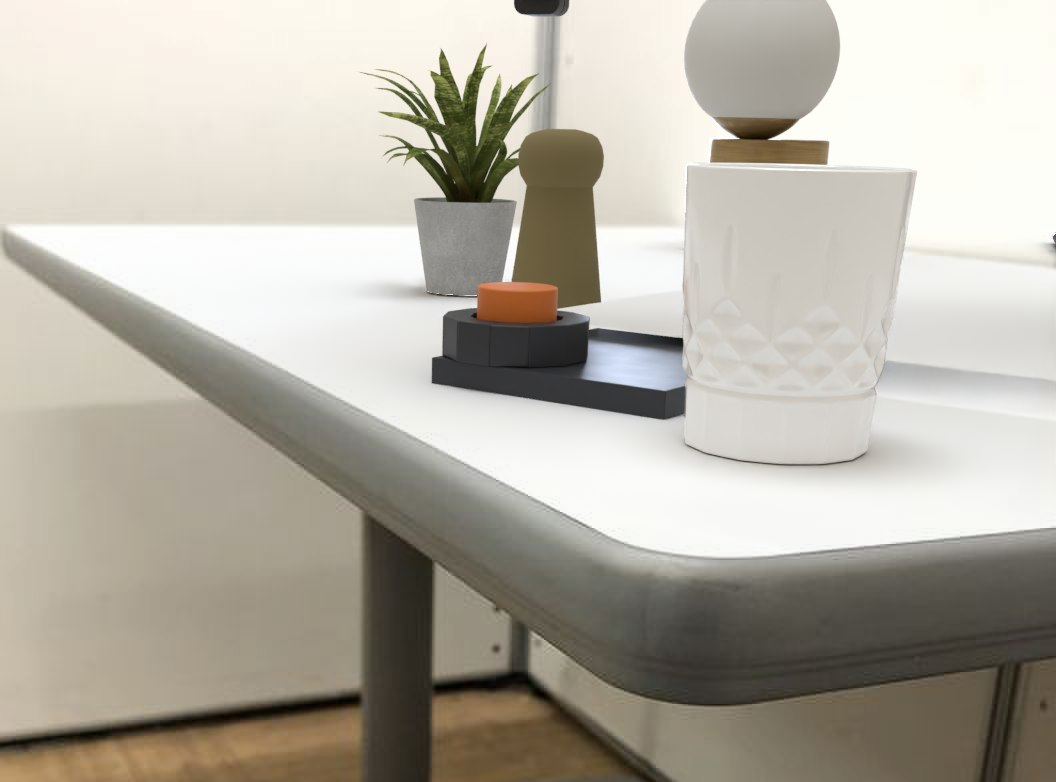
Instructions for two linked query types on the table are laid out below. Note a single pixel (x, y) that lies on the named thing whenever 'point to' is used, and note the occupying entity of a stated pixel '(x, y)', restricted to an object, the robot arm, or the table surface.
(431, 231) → the house plant
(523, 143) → the cork
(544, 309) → the button
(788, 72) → the lamp
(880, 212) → the white cup
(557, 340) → the scale
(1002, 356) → the table surface
